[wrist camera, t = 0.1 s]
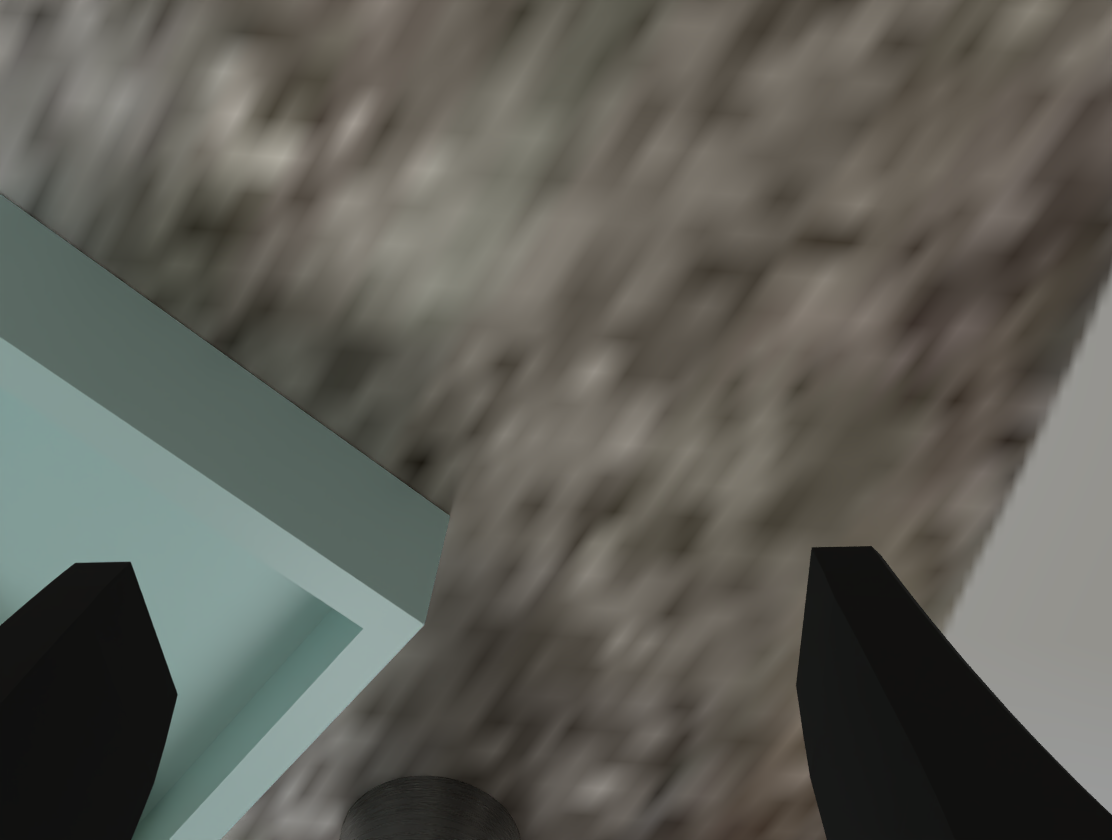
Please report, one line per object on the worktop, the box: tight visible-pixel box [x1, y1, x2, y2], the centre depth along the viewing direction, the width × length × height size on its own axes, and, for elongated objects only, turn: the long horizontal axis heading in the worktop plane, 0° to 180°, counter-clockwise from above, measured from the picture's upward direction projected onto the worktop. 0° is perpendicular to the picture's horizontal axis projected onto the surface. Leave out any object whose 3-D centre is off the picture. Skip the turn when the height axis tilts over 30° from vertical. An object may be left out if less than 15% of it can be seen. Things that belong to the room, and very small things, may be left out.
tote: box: [0, 194, 450, 840], centre depth 22 cm, size 16×11×4 cm
